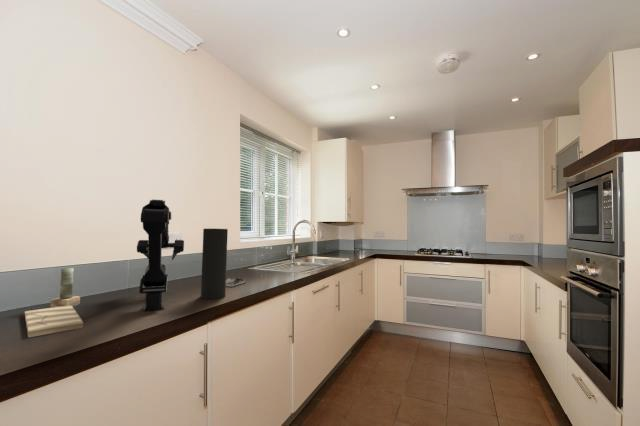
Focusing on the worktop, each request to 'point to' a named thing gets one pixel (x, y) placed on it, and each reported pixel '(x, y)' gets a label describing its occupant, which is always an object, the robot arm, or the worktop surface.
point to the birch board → (52, 320)
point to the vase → (214, 263)
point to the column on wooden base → (66, 290)
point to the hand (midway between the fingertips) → (161, 259)
